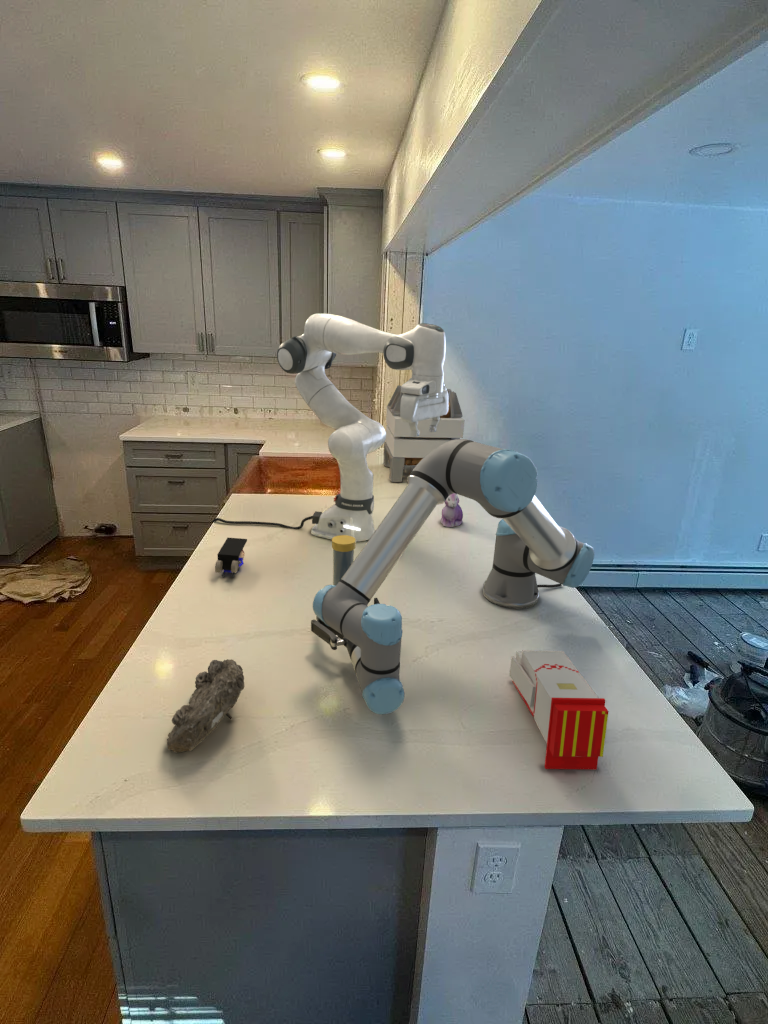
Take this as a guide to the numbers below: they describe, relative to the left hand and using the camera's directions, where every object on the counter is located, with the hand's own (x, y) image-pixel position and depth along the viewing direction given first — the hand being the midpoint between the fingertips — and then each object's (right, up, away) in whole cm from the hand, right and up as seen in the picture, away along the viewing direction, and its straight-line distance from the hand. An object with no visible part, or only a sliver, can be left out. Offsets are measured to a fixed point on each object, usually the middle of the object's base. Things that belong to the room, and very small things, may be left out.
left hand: (424, 434), depth 163 cm
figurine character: (-56, -39, +5) cm, 69 cm away
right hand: (-20, -45, -25) cm, 55 cm away
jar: (-22, -48, -15) cm, 55 cm away
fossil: (-44, -62, -55) cm, 93 cm away
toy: (+21, -63, -51) cm, 83 cm away
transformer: (+6, -4, +112) cm, 112 cm away
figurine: (+14, -27, +49) cm, 57 cm away
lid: (-22, -30, -22) cm, 43 cm away
